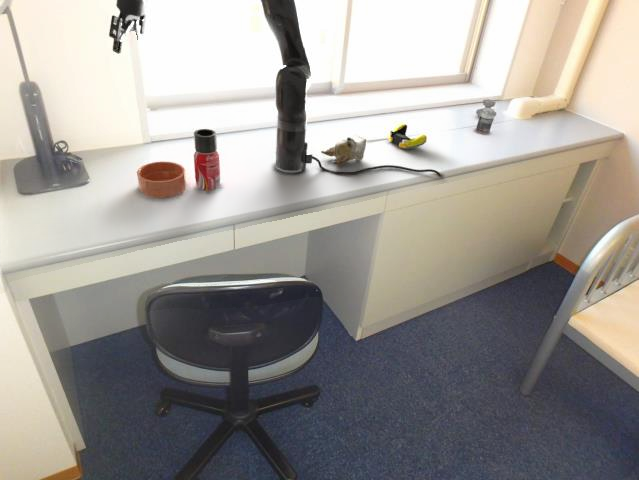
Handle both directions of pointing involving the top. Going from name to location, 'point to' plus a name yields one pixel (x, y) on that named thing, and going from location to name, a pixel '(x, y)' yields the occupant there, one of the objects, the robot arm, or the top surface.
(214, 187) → the soda can
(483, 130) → the pill bottle
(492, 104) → the stamp
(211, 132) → the ring
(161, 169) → the bowl
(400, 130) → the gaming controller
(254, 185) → the top surface
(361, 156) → the ceramic sculpture
